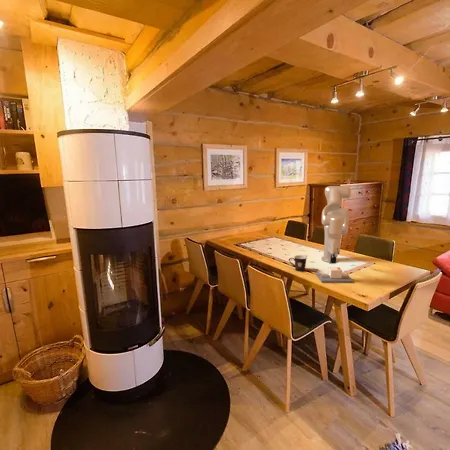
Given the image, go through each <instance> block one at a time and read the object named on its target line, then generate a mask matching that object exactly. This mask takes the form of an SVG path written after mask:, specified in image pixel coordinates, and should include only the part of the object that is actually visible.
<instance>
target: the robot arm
mask: <svg viewBox="0 0 450 450" xmlns="http://www.w3.org/2000/svg"><path fill="white" fill-rule="evenodd" d="M324 195H325V199H326V202H327V205H325V206H324V207H323V209H322V212H321V224H322V225H323V229H324V242H323V243H324V246H323V256H322V257H321V261H322V262H325V263H330V264H331V265H332V264H334V265H335V264H337V263H338V262H339V259H338V256H339V255H340V253H341V239H342V235H347V234H348V232H349V221H350V212H349V209H347V208H344V207H343V208H341V207H342V206H343V199H346V200H347V199H350V198H351V196H352V190H351V187H350V186H348V185H329V186H326V187H325V188H324Z"/></svg>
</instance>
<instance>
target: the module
mask: <svg viewBox="0 0 450 450" xmlns="http://www.w3.org/2000/svg"><path fill="white" fill-rule="evenodd" d="M327 274H329V275H330V278H341V277H342V274H343V270H342V269H341V267H339V266H337V267H335V266H334V267H333V266H331V267H327Z"/></svg>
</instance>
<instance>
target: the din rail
mask: <svg viewBox="0 0 450 450" xmlns="http://www.w3.org/2000/svg"><path fill="white" fill-rule="evenodd" d="M319 274H320V277H321V278H330V275H329V274H328V273H319ZM349 277H350V275H349V273H342V277H341V278H349Z"/></svg>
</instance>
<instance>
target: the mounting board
mask: <svg viewBox="0 0 450 450" xmlns="http://www.w3.org/2000/svg"><path fill="white" fill-rule="evenodd" d="M320 274H321V273H316V277H317V278H318V280H319V281H320V282H321V283H322V284H324V283H325V284H326V283H327V284H328V283H329V284H332V283H333V284H337V283H338V284H341V283H342V284H351V283H352V284H353V283H354V280H353V279H352V278H351V276H349V278H321V277H320Z"/></svg>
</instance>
